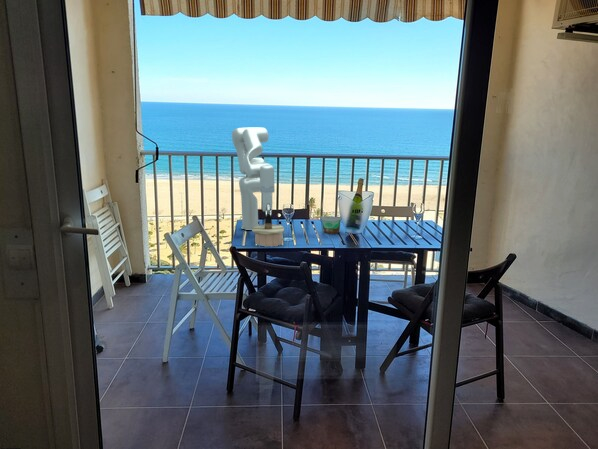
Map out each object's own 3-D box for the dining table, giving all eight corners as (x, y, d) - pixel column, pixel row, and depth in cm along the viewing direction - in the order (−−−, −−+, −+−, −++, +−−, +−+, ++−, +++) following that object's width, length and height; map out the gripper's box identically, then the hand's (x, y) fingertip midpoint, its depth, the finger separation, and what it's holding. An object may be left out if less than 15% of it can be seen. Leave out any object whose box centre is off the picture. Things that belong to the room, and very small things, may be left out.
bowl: (255, 239, 243) (254, 227, 242) (280, 238, 245) (280, 226, 243) (256, 247, 230) (255, 234, 228) (283, 246, 232) (282, 233, 230)
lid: (251, 227, 243) (251, 216, 241) (282, 225, 245) (282, 215, 244) (253, 235, 227) (252, 224, 225) (285, 234, 229) (285, 222, 227)
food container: (319, 234, 254) (319, 217, 251) (320, 231, 259) (320, 214, 257) (341, 234, 252) (341, 217, 249) (341, 232, 258) (342, 215, 255)
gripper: (259, 186, 238) (260, 217, 243) (260, 192, 221) (261, 225, 226) (273, 186, 239) (273, 216, 243) (275, 192, 222) (276, 224, 227)
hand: (268, 220), depth 235 cm, fingers open, 9 cm apart
